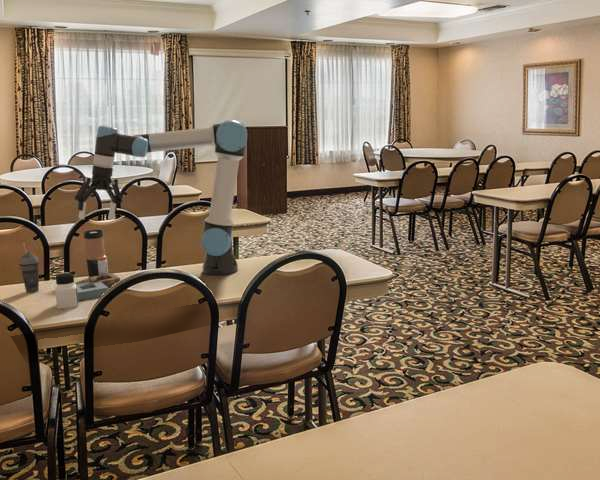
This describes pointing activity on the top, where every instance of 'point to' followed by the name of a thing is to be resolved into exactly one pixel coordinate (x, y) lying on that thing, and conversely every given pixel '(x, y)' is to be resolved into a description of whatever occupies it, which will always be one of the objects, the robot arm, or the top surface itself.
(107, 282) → the mount
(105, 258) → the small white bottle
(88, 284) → the socket
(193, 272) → the top surface
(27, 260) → the beverage cup
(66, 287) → the medicine bottle
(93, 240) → the travel mug
